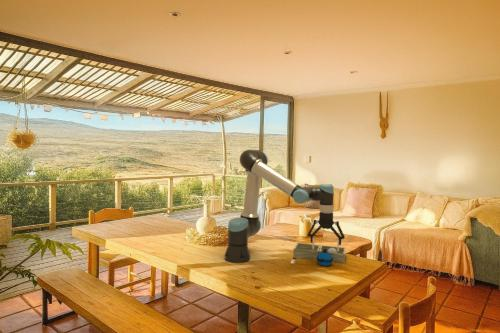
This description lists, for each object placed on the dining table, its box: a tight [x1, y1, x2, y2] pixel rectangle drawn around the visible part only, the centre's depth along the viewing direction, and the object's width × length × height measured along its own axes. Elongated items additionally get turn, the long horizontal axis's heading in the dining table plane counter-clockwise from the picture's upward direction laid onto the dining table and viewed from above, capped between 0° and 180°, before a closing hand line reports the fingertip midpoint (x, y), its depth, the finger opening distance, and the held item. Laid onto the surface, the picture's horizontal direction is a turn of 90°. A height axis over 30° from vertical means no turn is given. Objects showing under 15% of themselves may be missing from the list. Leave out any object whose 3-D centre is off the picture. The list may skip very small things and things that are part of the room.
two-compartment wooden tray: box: [292, 242, 346, 264], centre depth 202 cm, size 15×30×6 cm, turn 73°
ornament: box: [316, 249, 333, 267], centre depth 188 cm, size 9×9×10 cm
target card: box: [290, 259, 297, 265], centre depth 193 cm, size 6×8×1 cm
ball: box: [327, 248, 337, 253], centre depth 200 cm, size 6×6×6 cm
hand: (325, 249), depth 187 cm, fingers open, 13 cm apart
